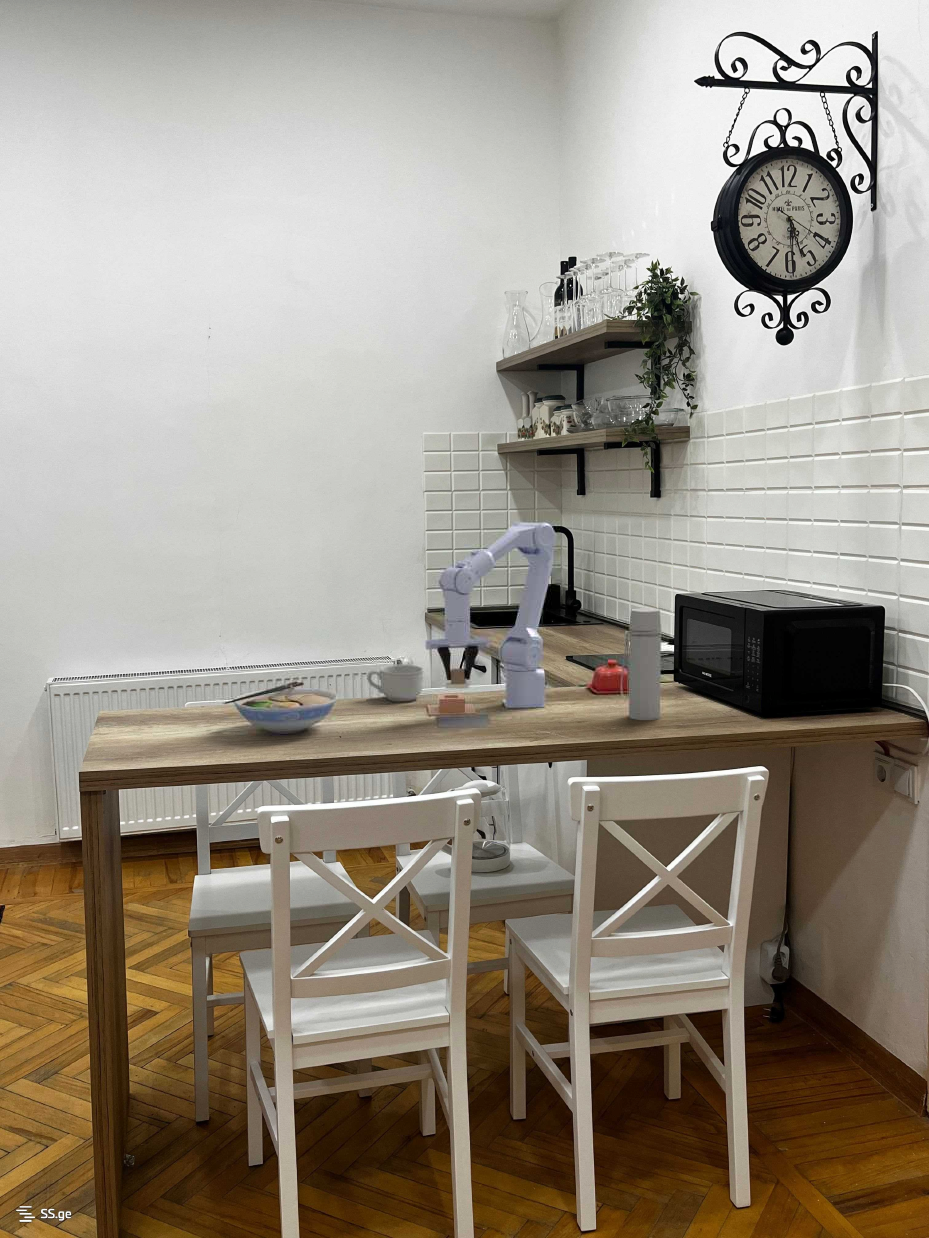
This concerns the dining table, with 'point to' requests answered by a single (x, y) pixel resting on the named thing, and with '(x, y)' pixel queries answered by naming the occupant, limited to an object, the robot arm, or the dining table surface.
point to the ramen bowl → (285, 707)
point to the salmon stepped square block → (451, 706)
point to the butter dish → (609, 679)
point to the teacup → (399, 682)
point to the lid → (458, 679)
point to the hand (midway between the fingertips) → (458, 679)
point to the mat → (463, 721)
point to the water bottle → (643, 664)
